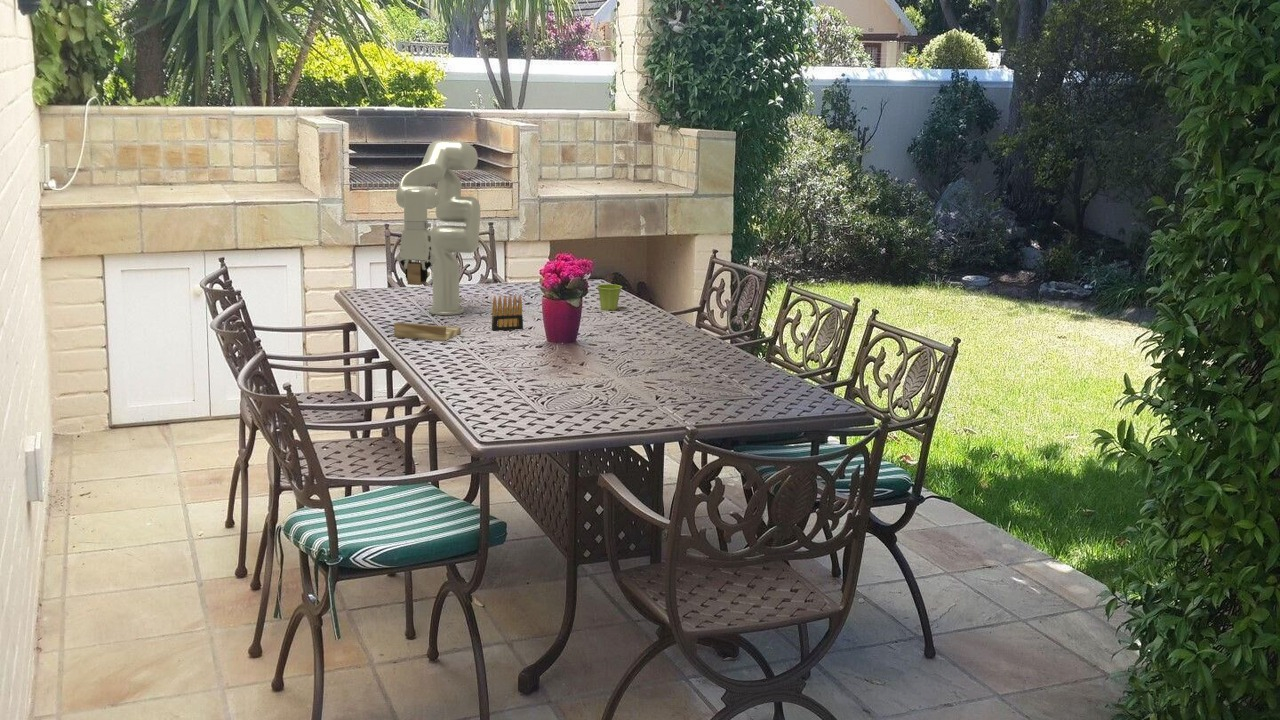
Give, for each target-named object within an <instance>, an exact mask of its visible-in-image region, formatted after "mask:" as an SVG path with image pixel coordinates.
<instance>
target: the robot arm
mask: <svg viewBox="0 0 1280 720" xmlns="http://www.w3.org/2000/svg"><path fill="white" fill-rule="evenodd" d="M478 157H479V156H478V152H477V149H476V147H474V146H473V145H471V144H469V143H467V142H465V141H461V140H460V141H459V140H435V141H432V142H431V143H430V144H429V145H428V147H427V149H426V152H425V154H424V157H423V160H422V162H421V164H420V165H419V166H416V167H415V168H414V169H411V170H410V171H408V172H407V173H406V174H404V176H403V177H401V179H400V181H399V184H398V187H397V190H396V196H395V198H396V199H395V200H396V203H397V204H398V206H399V208H400V207H401V208H403V222H404V223H403V226H404V228H403V229H402V231H401V238H400V248H399V249H400V251H399V252H398V254H397V255H396V257H395V260H396V261H398V262H399V263H400V264H401V266H402V267H403V268H404V269H405V279H406V281H407V263H411V262H421V266H422V270H421V282H425V281H427V280H428V278H429V277H428V275H427V272H428V269H429V268H430V267H432V307H430V308H428V313H430V314H432V315H437V316H454V315H455V316H456V315H461V314H463V313H464V312H465V309H464V308H463V307H461V306H460V304H462V302H463V298H461V297H460V263H459V261H458V259H457V258H456V256H455V255H454V254H455V253H460V254H461V253H462V254H464V253H465V254H471V253H474V252H476V251H477V249H478V246H479V239H480V225H481V204H480V202H479V200H478V199H477V198H476V197H474V196H464V195H463V196H462V182H461V180H460V178H459V176H458V175H457V174H456V172H454V170H456V171H473V170H474V169H475V168H476V167H477V165H478V159H479V158H478ZM434 184H437V188H436V187H434V186H431V185H434ZM432 209H435V216H436V219H437V220H439V221H440V222H443V223H454V224H455V223H457V224H458V223H459V224H465V226H464V225H450V224H449V225H448V224H447V225H445V224H444V225H443V224H442V225H436V226H434V227H432V223H430V222H429V220H428V210H432ZM430 228H431V230H430ZM428 260H429V261H428Z"/></svg>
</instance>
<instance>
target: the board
mask: <svg viewBox="0 0 1280 720" xmlns="http://www.w3.org/2000/svg"><path fill="white" fill-rule="evenodd" d="M393 325H394V326H393V330H394V332H393V335H394V338H402V337H406V339H414V338H418V339H417V340H425V339H428V340H427V341H436V340H437V341H438V342H446V341H448V340H449V338H450V339H452V338H454V337H456V336H455V335H457V334H459V333H461V334H462V332H461V331H462V329H461V328H462V327H456V326H455V327H454V326H447V325H446V326H444V325H432V324H423V323H422V324H421V323H405V322H404V323H403V322H395V323H393ZM459 335H460V334H459ZM453 336H454V337H453ZM457 336H458V335H457ZM447 339H448V340H447ZM445 340H446V341H445Z"/></svg>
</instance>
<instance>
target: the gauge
mask: <svg viewBox="0 0 1280 720" xmlns="http://www.w3.org/2000/svg"><path fill="white" fill-rule="evenodd" d="M421 270H422V266H421V261H412V262H411V263H407V280H406V282H407V285H411V286H422V285H425V284H426V283H427V282H426V281H427V280H426V281H425V282H421ZM427 275H428V278H430V277H429V276H430V275H431V273H430V271H427Z"/></svg>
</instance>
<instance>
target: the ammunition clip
mask: <svg viewBox="0 0 1280 720" xmlns="http://www.w3.org/2000/svg"><path fill="white" fill-rule="evenodd" d="M512 300H513V301H512ZM517 300H518V301H517ZM497 301H498V302H497ZM502 301H503V302H502ZM522 301H523V300H522V296H521V295H520V294H519V295H518V299H517V296H516V294H514V295H513V299H512V295H509V296H508V300H507V297H506V295H504V296H503V300H502V296H501V295H499V296H498V299H497V297H496V295H494V296H493V299H492V309H491V311H492V312H491V313H492V314H491V315H492V316H491V331H492V330H493V332H497V331H498V332H499V330H503V331H516V330H515V329H522V330H524V320H523V319H524V318H523V317H524V316H523V304H522V303H523V302H522Z"/></svg>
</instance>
